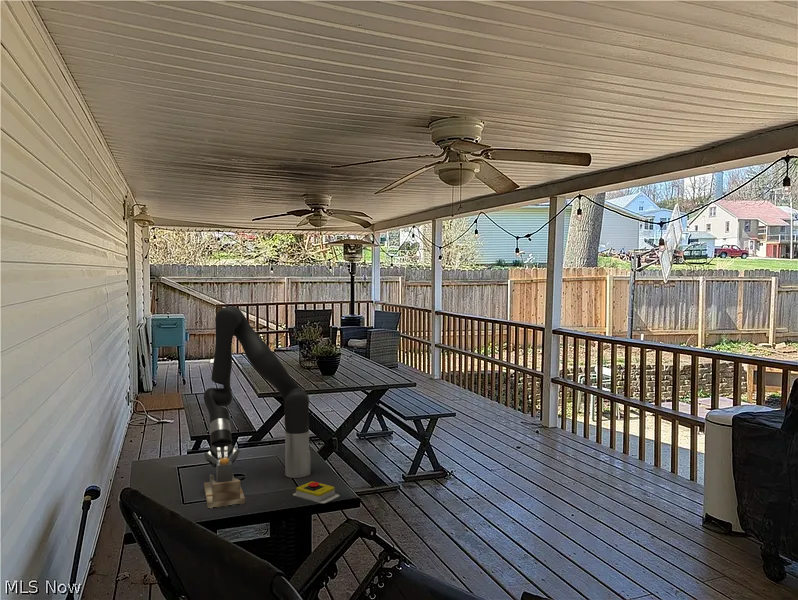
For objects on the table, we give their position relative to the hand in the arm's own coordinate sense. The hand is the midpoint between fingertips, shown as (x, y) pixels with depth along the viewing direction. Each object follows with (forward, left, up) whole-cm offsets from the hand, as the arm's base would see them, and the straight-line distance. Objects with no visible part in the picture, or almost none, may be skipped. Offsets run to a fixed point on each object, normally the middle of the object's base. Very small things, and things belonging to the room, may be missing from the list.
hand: (223, 476), depth 202 cm
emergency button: (-31, +12, -8) cm, 34 cm away
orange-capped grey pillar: (0, +3, -5) cm, 5 cm away
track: (0, 0, -7) cm, 7 cm away
